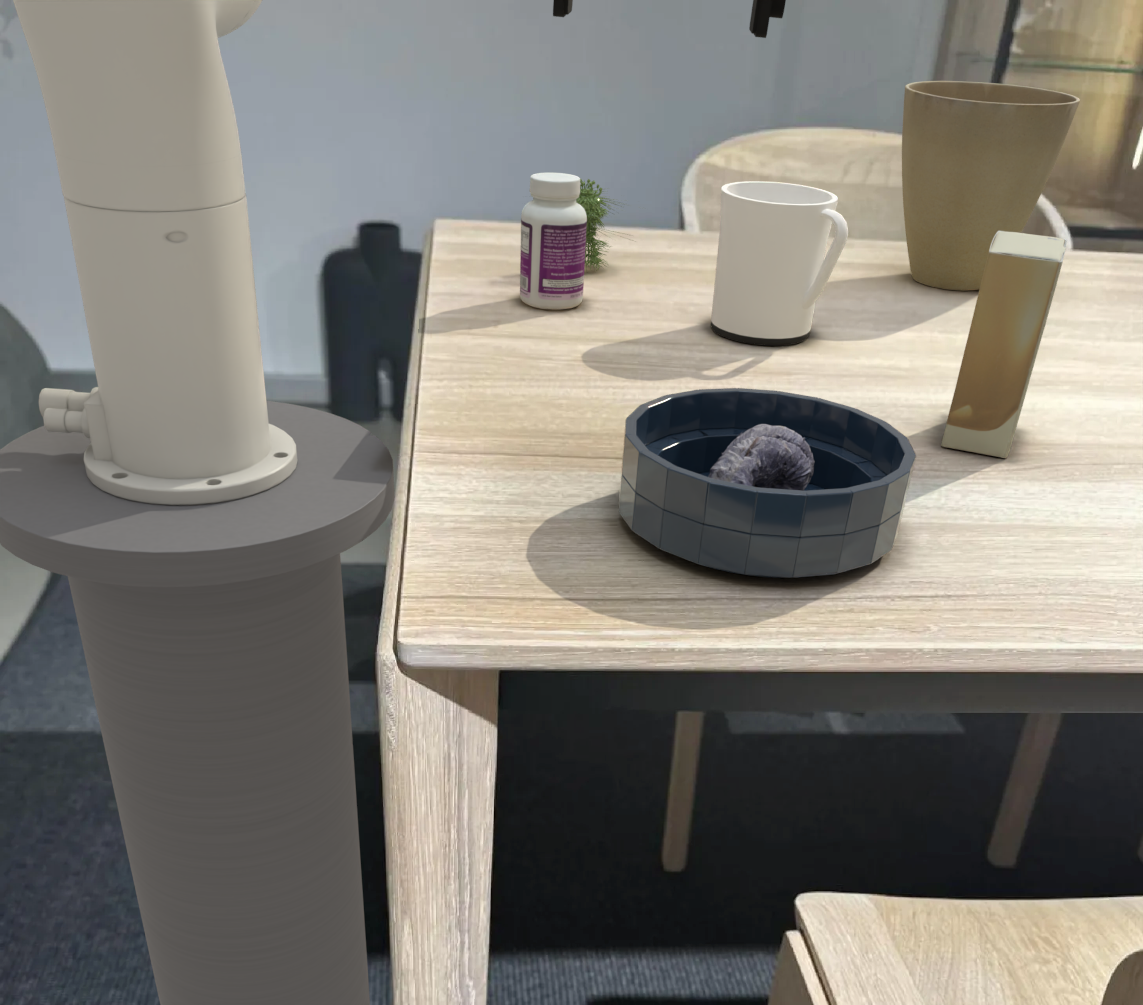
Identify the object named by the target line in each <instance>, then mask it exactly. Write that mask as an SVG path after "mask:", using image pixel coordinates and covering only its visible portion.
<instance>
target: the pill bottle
mask: <svg viewBox="0 0 1143 1005" xmlns="http://www.w3.org/2000/svg"><path fill="white" fill-rule="evenodd" d="M529 177H530V178H529V179H530V180H529V193H530V197H531V196H532V200H530V201H527V203H525V205H524V206H523V208H522V210H521V214H520V215H521V216H520V259H519V260H520V264H519V267H520V268H519V272H520V273H519V298H520V300H521V301H522V302H523V303H524V304H525V305H528V306H530V307H533V308H536V309H541V310H567V309H572V308H575V307H578V306H579V305H580V304H581V303H582V302H583V298H584V286H585V285H584V284H585V267H586V263H585V249H586V248H587V247H586V227H587V215H586V212H585V210H584V208H583V207H582V206H581V205H580V204H578V203H576V199H577V198H578V197H579V194H580V184H581V183H580V179H581V178H580V177H579V176H578V175H575V174H570V173H564V172H538V173H533V174H531V175H530V176H529ZM585 247H586V248H585Z"/></svg>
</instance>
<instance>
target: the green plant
mask: <svg viewBox="0 0 1143 1005" xmlns="http://www.w3.org/2000/svg"><path fill="white" fill-rule="evenodd" d="M594 185H596V186H595V187H593V186H594ZM594 189H595V190H594ZM606 189H609V187H608V188H606ZM603 190H604V188H602V187H600V184H599V183H598V184H596V181H595V180H592V181H591V179H590V178H587V180H586V181H585V179H584V180H583V179H582V178H580V194H579V197H578V198H577V199H576V203H578V204H580V205H581V206H582V207H583V208H584V210H585V212H586V215H587V227H586V247H585V269H586V270H585V271H586V272H588V269H587V268H588V267H589V268H590V270H592V267H593V271H594V272H595V271H599V268H600V267H601V268H602V269H604V267H607V268H608V266H606V265H607V260H605V259H604V258H602V257H603V256H606V254H605V253H608V250H609V251H610V249H608V248H612V245H610V244H609V243H608V242H607V241H604V240H600V239H601V238H600V237H599V238H598V236H599V234H598V233H601V234H603V235H605V236H606V237H608V235H606V234H605V233H608V234H612V235H615V236H618V237H620V238H623V239H626V240H630V241H633V242H636V243H637V241H635V240H633V239H630V238H627V237H624V236H621V235H616V234H614V233H615V231H614V229H613V228H612V229H611V230H609V229H607V230H606V228H605V224H604V223H603V221H602V219H603V218H604V217H605V216H607V215H608V216H610V217H611V215H609V213H611V214H613V215H614V213H613V212H611V211H609V210H612V211H614V209H613V208H615V209H617V210H620V211H624V212H625V210H623V209H620V208H618V207H615V206H619V207H621V208H623V205H624V206H625V205H626V203H623V205H621V202H618V203H616V200H617V199H615V198H611V199H609V198H607V197H605V195H601V194H603V193H606V192H607V190H605V191H603ZM622 196H623V197H624V196H625V195H622ZM522 197H523V198H524V197H528V196H522ZM530 197H532V196H531V195H530ZM532 198H533V197H532ZM624 201H627V202H628V200H626V199H625V200H624ZM637 202H640V201H637ZM608 203H610V204H613V205H615V206H612V205H610V204H608ZM522 204H523V203H522ZM619 204H620V205H619ZM628 206H630V207H631V205H630V204H628ZM605 207H606V208H605ZM639 208H640V209H641V208H642V207H641V206H639ZM644 209H646V208H645V207H644ZM616 213H618V214H619V212H617V211H616ZM608 231H609V232H608ZM597 232H598V233H597ZM604 232H605V233H604ZM612 232H614V233H612ZM616 233H618V234H620V232H619V231H618V232H617V231H616ZM621 234H622V235H625V233H623V232H621ZM626 235H627V236H629V233H626ZM630 236H633V235H631V234H630ZM610 239H612V241H613V240H614V241H615V239H613V238H611V237H610ZM603 252H604V253H603ZM602 265H603V266H604V267H603V266H602ZM595 268H596V270H595Z"/></svg>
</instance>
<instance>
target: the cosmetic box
mask: <svg viewBox="0 0 1143 1005" xmlns="http://www.w3.org/2000/svg"><path fill="white" fill-rule="evenodd" d="M1067 243H1068V240H1067V239H1066V238H1061V237H1056V236H1050V235H1049V236H1048V235H1039V234H1032V233H1024V232H1021V233H1018V232H1005V231H998V232H997V233H996V234H995V236H994V238H993V240H992V242H991V246H990V249H989V253H988V257H987V261H986V265H985V269H984V273H983V277H982V281H981V285H980V289H979V290H978V294H977V299H976V302H975V306H974V310H973V315H972V318H971V322H970V327H969V331H968V336H967V339H966V344H965V347H964V351H963V355H962V360H961V363H960V367H959V372H958V376H957V380H956V384H955V388H954V392H953V395H952V400H951V403H950V408H949V411H948V415H947V420H946V423H945V428H944V432H943V436H942V440H941V447H942V448H948V449H953V450H960V451H965V452H970V453H975V454H981V455H987V456H992V457H998V458H1002V459H1007V458H1008V457H1009V454H1010V451H1011V449H1012V444H1013V441H1014V437H1015V433H1016V430H1017V428H1018V423H1019V420H1020V416H1021V412H1022V409H1023V406H1024V402H1025V399H1026V395H1027V391H1028V389H1029V384H1030V381H1031V378H1032V373H1033V371H1034V370H1033V369H1034V366H1035V362H1036V360H1037V356H1038V352H1039V348H1040V346H1041V342H1042V338H1043V335H1044V331H1045V328H1046V324H1047V320H1048V316H1049V315H1050V314H1049V313H1050V310H1051V307H1052V303H1053V300H1054V296H1055V292H1056V288H1057V284H1058V281H1059V278H1060V273H1061V270H1062V266H1063V262H1064V258H1065V254H1066V249H1067Z"/></svg>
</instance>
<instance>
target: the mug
mask: <svg viewBox="0 0 1143 1005" xmlns="http://www.w3.org/2000/svg"><path fill="white" fill-rule="evenodd" d="M838 203H839V198H838V196H837V195H836V193H835V194H834V193H833V192H831V191H828V190H825V189H821V188H819V187H813V186H809V185H805V184H804V185H802V184H798V183H789V182H778V181H766V180H765V181H764V180H763V181H762V180H751V181H750V180H747V181H735V182H730V183H729V182H728V183H726V184H723V185H722V186H721V189H720V211H719V212H720V213H719V234H718V245H717V256H716V264H715V274H714V275H715V276H714V285H713V295H712V306H711V317H710V327H711V329H712V331H713V332H714V333H715V334H717V335H719V336H720V337H722V338H725V339H727V340H730V341H734V342H738V343H742V344H748V345H754V346H755V345H756V346H771V347H780V346H781V347H782V346H792V345H795V344H796V345H797V344H800V343H802V342H804V341H806V340H807V338H808V337H809V336H810V334H811V329H812V324H813V318H814V315H815V314H814V313H815V308H816V303H817V300H818V299H819V297H820V296H821V295H822V294H823V292H824V289H825V288H826V285H827V283H828V281H829V279H830V277H831V275H832V273H833V271H834V269H835V267H836V265H837V262H838V261H839V258H840V256H841V253H842V252H843V250H844V248H845V246H846V244H847V241H848V237H849V229H848V222H847V220H846V219H845V218H844V216H843V215H842V214H841V213H839V212H838V211H837V206H838ZM832 225H833V226H834V230H835V232H834V237H833V240H832V242H831V244H830V246H829V248H828V250H827V246H828V242H829V237H830V234H831V229H832ZM826 251H827V252H826Z"/></svg>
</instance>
